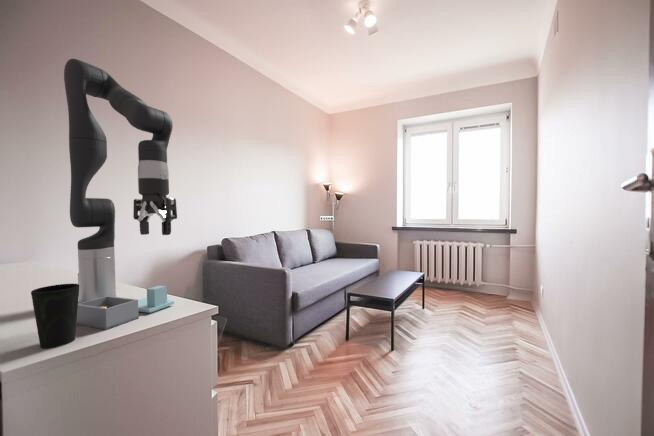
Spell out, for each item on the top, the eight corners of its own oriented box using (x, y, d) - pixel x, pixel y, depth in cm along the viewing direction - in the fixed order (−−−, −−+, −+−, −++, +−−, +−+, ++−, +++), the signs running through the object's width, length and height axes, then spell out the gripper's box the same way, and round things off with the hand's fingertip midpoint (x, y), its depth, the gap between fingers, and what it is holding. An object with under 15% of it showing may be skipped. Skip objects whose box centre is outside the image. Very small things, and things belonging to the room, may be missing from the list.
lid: (119, 311, 84) (119, 288, 84) (145, 302, 91) (145, 282, 91) (149, 315, 80) (149, 291, 80) (174, 306, 87) (173, 284, 87)
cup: (77, 332, 68) (75, 281, 68) (85, 340, 63) (83, 286, 63) (30, 344, 62) (28, 289, 62) (35, 354, 58) (33, 294, 57)
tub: (75, 324, 74) (74, 304, 73) (108, 313, 81) (107, 295, 81) (106, 329, 69) (105, 309, 69) (138, 318, 77) (138, 299, 77)
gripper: (123, 178, 82) (125, 235, 82) (160, 175, 77) (162, 236, 77) (148, 180, 89) (149, 233, 89) (183, 178, 84) (184, 233, 84)
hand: (155, 234), depth 83 cm, fingers open, 8 cm apart
